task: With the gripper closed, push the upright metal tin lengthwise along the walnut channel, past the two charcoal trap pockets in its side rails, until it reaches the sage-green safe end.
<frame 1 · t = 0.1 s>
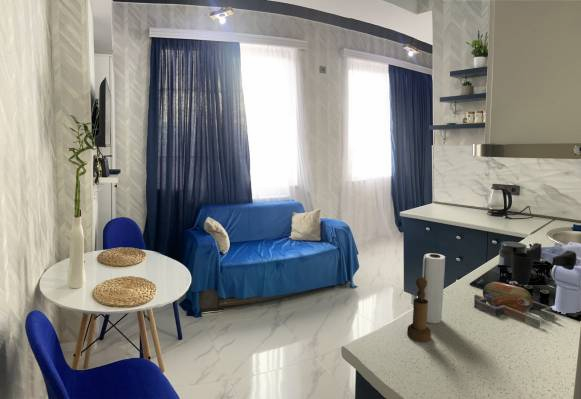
hand: (540, 257, 115), 22 cm above the worktop, tool horizontal, fingers open, 7 cm apart
supplement container: (511, 271, 167), on the worktop
mortar and pestle: (418, 337, 112), on the worktop
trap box: (511, 310, 128), on the worktop
tin: (506, 308, 130), resting in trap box
paper towel roll: (429, 320, 122), on the worktop
cup: (519, 284, 151), on the worktop
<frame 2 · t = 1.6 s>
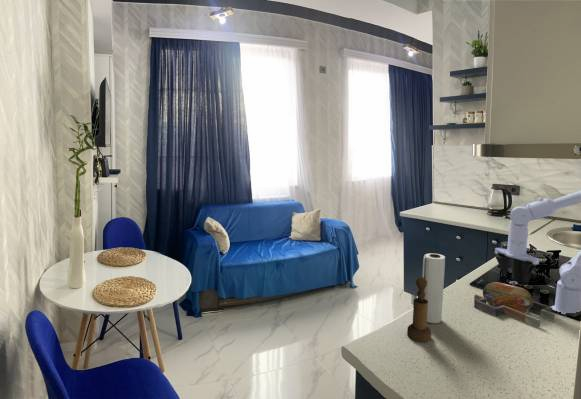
hand: (514, 278, 135), 8 cm above the worktop, tool pointing down, fingers open, 7 cm apart
nothing on the worktop moved.
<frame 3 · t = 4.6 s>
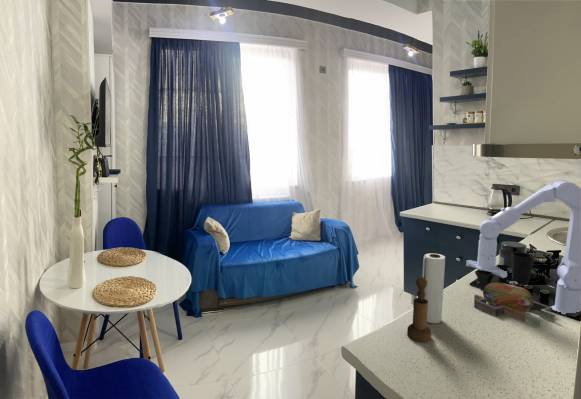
hand: (484, 290, 137), 3 cm above the worktop, tool pointing down, fingers closed
tin: (506, 308, 130), resting in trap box, touching gripper
everything else where it was.
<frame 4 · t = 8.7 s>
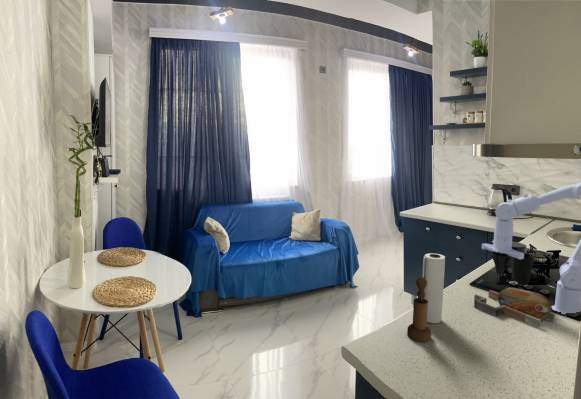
hand: (499, 273, 137), 9 cm above the worktop, tool pointing down, fingers closed
tin: (522, 315, 125), resting in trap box
everything else where it was.
at the end: tin 0.5 cm from the target spot, resting in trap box; tin tilted 0°; tin moved 5.9 cm from its start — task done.
